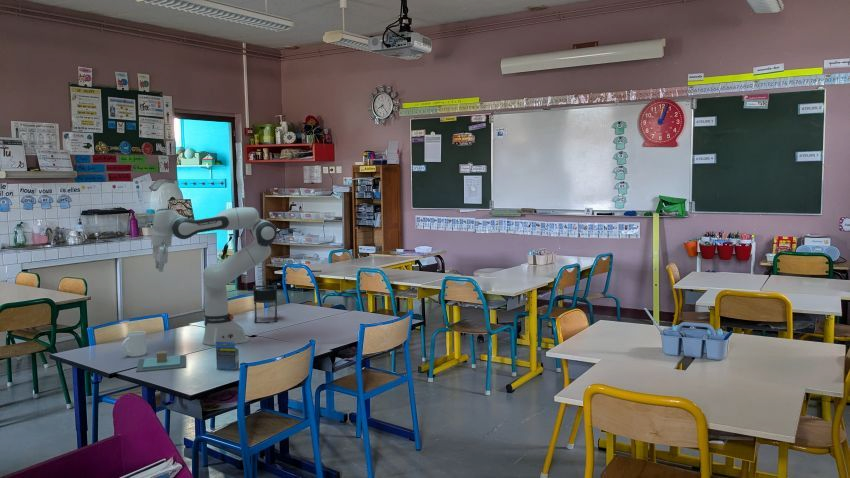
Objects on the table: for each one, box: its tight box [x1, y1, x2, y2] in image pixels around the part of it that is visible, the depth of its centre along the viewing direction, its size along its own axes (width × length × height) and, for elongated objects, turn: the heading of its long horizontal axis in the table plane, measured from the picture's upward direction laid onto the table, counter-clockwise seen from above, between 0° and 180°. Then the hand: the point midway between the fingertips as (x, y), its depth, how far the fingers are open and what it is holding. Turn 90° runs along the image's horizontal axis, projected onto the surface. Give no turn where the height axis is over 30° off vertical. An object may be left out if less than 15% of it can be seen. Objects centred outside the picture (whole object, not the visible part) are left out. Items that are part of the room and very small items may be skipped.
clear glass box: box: [252, 284, 278, 324], centre depth 384 cm, size 13×17×22 cm
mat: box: [135, 354, 187, 373], centre depth 293 cm, size 20×20×1 cm
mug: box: [121, 330, 147, 358], centre depth 307 cm, size 12×8×10 cm
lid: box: [143, 350, 181, 369], centre depth 293 cm, size 15×15×5 cm
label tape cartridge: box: [215, 342, 240, 371], centre depth 285 cm, size 9×4×12 cm, turn 81°
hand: (159, 270), depth 319 cm, fingers open, 8 cm apart
